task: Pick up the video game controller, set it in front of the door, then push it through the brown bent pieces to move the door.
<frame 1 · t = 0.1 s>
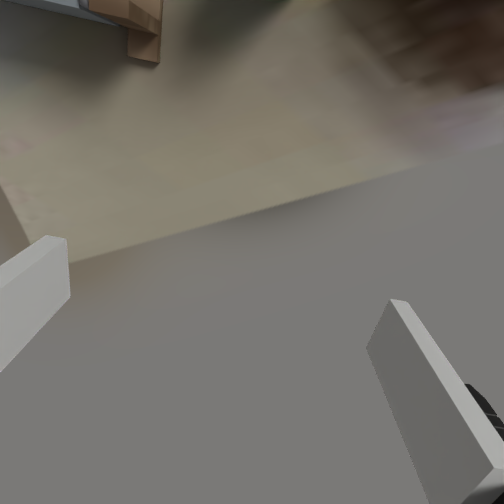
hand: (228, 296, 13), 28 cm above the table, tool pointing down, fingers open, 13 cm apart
door: (29, 2, 28), point 5 cm above the table, hinge at 0.0°
brown bent pieces: (55, 5, 32), on the table
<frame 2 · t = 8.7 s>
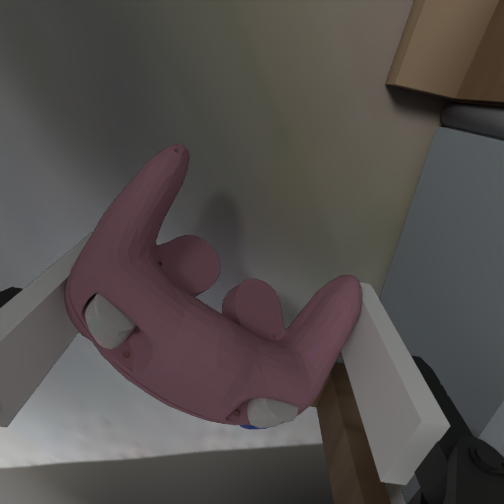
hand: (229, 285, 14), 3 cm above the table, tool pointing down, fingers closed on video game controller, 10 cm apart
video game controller: (233, 260, 14), point 2 cm above the table, touching gripper
door: (461, 314, 12), point 5 cm above the table, hinge at 6.4°, touching gripper
brown bent pieces: (383, 259, 16), on the table
when the fingers open (1 cm above the table, at t = 9.8 s): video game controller moves 1 cm, on the table.
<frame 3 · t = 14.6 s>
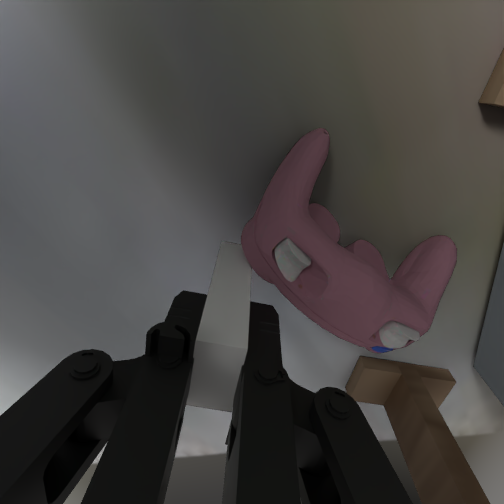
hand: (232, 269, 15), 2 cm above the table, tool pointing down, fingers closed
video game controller: (341, 225, 17), on the table, touching gripper
brown bent pieces: (460, 264, 17), on the table
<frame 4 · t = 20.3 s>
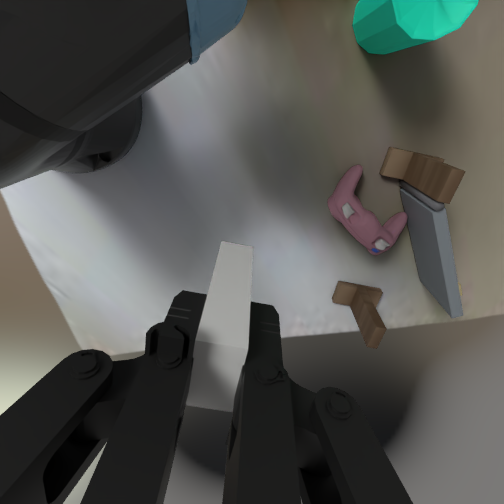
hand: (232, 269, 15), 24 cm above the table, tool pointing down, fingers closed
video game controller: (361, 204, 39), on the table
door: (435, 245, 36), point 5 cm above the table, hinge at 34.4°
brown bent pieces: (379, 235, 41), on the table
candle: (383, 18, 31), on the table
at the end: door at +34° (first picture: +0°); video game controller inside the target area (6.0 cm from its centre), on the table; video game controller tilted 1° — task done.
